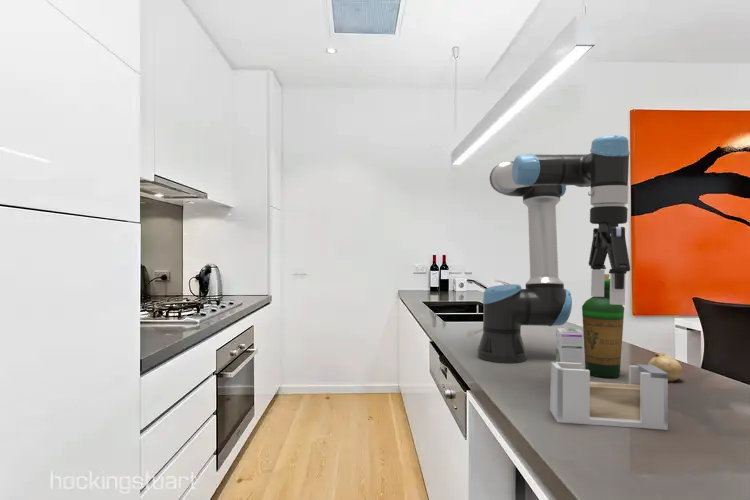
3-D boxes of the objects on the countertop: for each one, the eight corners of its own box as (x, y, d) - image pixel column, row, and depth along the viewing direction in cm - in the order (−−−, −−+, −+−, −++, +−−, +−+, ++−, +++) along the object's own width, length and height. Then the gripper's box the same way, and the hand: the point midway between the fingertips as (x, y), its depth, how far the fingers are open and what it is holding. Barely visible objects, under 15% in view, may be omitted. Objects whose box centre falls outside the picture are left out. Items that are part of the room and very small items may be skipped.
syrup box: (585, 391, 109) (585, 332, 109) (559, 390, 111) (559, 331, 111) (579, 385, 115) (579, 328, 115) (554, 383, 116) (555, 327, 116)
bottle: (583, 377, 122) (584, 274, 122) (579, 368, 132) (580, 273, 132) (628, 381, 119) (628, 275, 119) (620, 371, 129) (620, 273, 129)
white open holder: (550, 410, 96) (550, 360, 96) (652, 417, 92) (652, 364, 92) (557, 422, 89) (557, 367, 89) (667, 429, 86) (667, 373, 86)
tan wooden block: (576, 410, 93) (576, 381, 94) (649, 414, 91) (649, 385, 91) (580, 416, 90) (580, 386, 90) (656, 421, 88) (657, 390, 88)
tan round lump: (679, 377, 123) (679, 351, 123) (685, 385, 116) (685, 358, 116) (645, 374, 126) (645, 349, 126) (649, 381, 119) (649, 354, 119)
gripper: (576, 210, 114) (574, 293, 115) (608, 201, 90) (606, 307, 90) (608, 209, 113) (606, 294, 113) (650, 201, 88) (647, 309, 89)
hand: (606, 300), depth 102 cm, fingers open, 13 cm apart
